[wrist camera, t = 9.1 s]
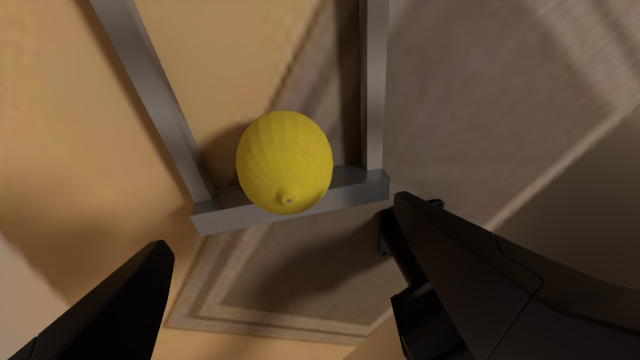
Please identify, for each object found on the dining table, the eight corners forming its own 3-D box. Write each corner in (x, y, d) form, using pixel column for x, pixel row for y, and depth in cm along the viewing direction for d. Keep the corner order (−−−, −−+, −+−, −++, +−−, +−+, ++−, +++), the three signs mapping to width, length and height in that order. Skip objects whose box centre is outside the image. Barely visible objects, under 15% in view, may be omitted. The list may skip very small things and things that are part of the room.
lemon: (241, 163, 18) (222, 241, 11) (247, 88, 15) (227, 133, 9) (311, 172, 19) (331, 246, 13) (328, 105, 17) (365, 154, 10)
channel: (374, 178, 21) (388, 199, 18) (209, 210, 20) (200, 236, 17) (386, -372, 8) (437, -549, 6) (-76, -373, 7) (-270, -596, 4)
